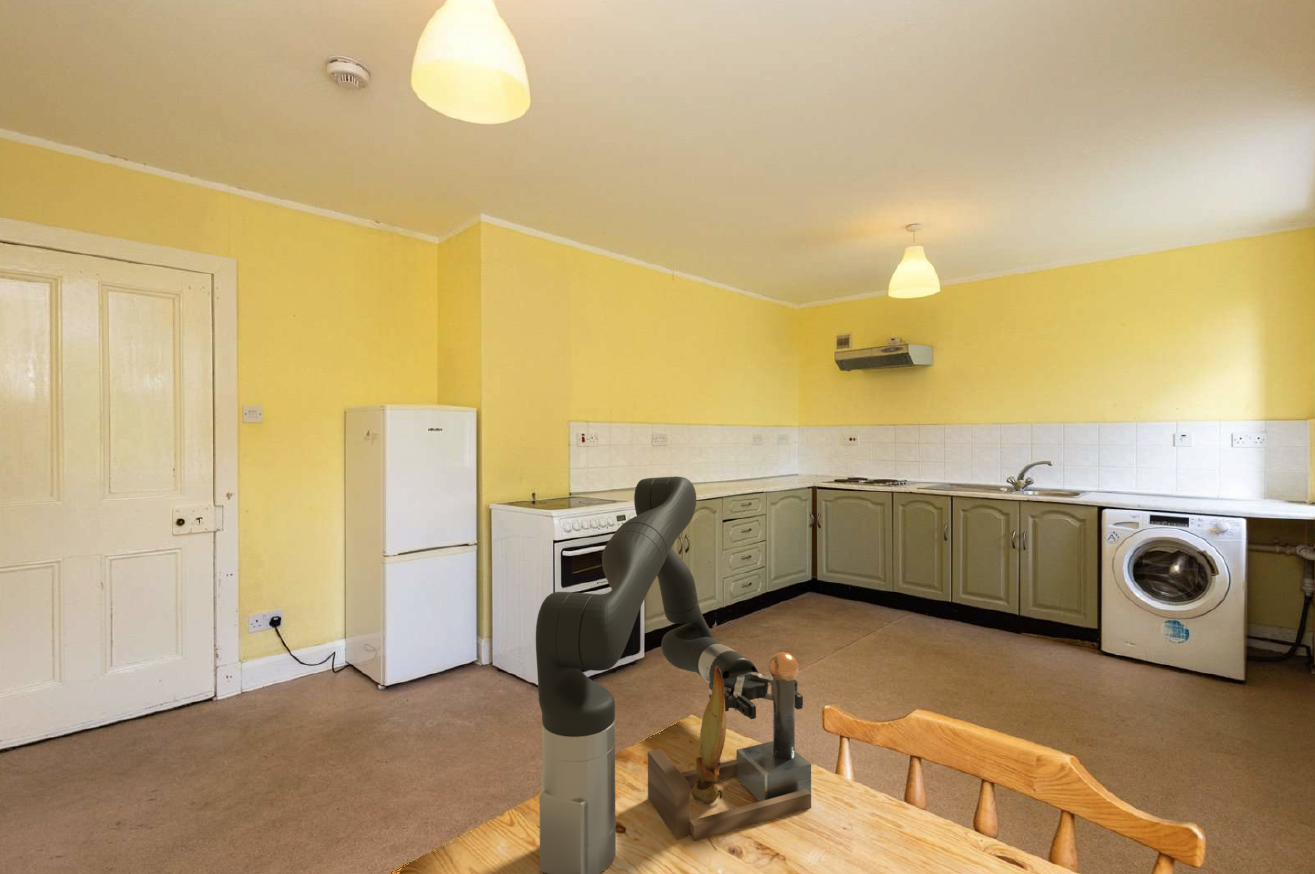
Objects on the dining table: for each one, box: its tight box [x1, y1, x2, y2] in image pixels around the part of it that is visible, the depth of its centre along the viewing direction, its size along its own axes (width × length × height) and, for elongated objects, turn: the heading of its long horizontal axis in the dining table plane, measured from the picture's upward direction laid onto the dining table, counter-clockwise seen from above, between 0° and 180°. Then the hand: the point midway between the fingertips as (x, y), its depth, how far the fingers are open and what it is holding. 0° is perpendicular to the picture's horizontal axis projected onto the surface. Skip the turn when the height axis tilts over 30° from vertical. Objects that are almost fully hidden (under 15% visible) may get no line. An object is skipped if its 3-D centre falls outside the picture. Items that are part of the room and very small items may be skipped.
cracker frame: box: [647, 748, 812, 842], centre depth 90 cm, size 21×12×7 cm, turn 113°
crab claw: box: [690, 666, 727, 805], centre depth 89 cm, size 7×5×20 cm
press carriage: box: [735, 651, 812, 802], centre depth 94 cm, size 8×8×20 cm
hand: (777, 708), depth 96 cm, fingers open, 8 cm apart
